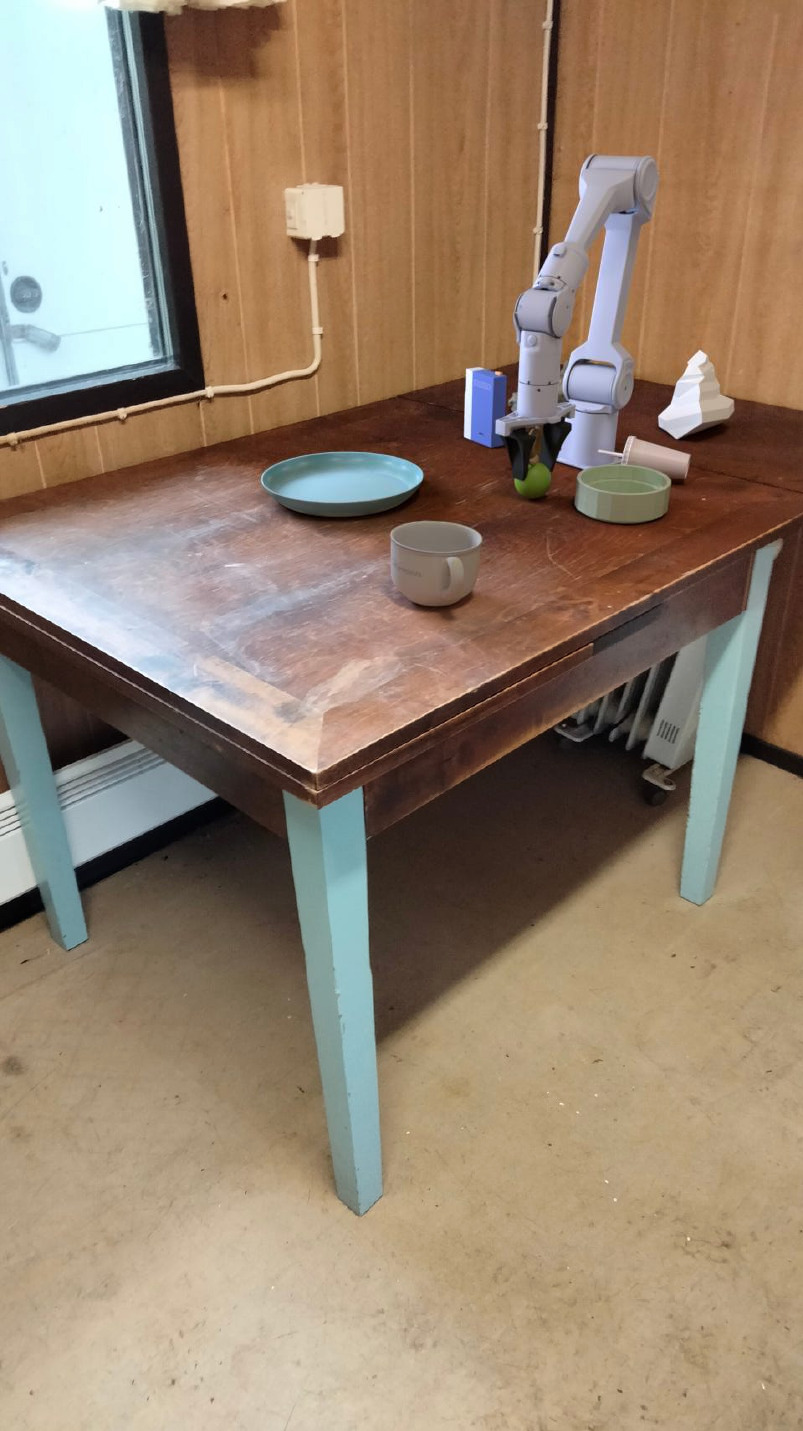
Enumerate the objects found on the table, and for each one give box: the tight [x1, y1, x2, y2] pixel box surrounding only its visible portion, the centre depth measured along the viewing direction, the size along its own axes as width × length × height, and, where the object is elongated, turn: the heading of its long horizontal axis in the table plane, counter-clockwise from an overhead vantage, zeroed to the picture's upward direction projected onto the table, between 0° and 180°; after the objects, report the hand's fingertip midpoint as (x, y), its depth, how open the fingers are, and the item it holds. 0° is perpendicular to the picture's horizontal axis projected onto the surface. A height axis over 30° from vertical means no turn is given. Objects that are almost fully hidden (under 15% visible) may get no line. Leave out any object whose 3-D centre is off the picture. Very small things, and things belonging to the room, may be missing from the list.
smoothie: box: [598, 435, 692, 480], centre depth 160 cm, size 6×6×14 cm
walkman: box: [463, 366, 508, 449], centre depth 175 cm, size 8×3×12 cm, turn 33°
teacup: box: [389, 520, 483, 607], centre depth 122 cm, size 14×11×8 cm
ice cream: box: [657, 349, 735, 440], centre depth 180 cm, size 12×15×14 cm
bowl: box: [573, 464, 672, 524], centre depth 149 cm, size 13×13×4 cm
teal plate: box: [260, 451, 424, 518], centre depth 155 cm, size 24×24×3 cm
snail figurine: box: [513, 424, 552, 500], centre depth 151 cm, size 5×6×12 cm
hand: (532, 474), depth 153 cm, fingers closed on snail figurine, 5 cm apart
